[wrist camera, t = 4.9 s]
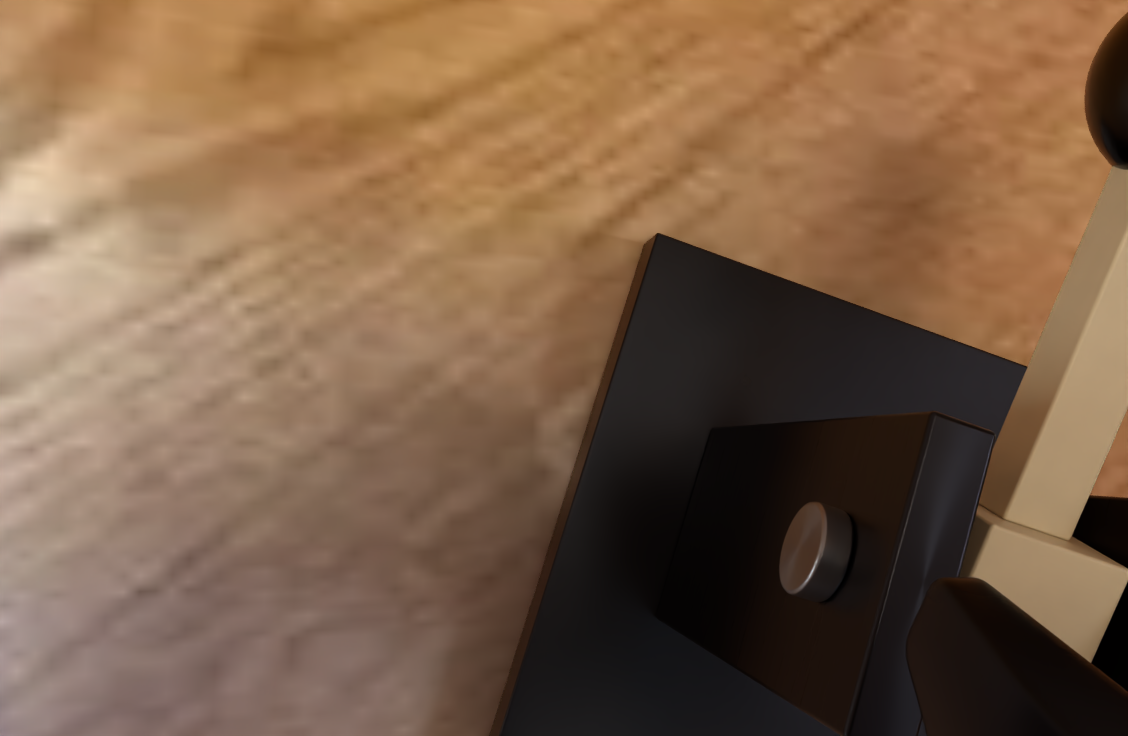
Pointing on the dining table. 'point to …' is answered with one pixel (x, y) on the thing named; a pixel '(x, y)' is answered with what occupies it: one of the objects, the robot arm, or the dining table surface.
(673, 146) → the dining table surface
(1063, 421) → the lever handle
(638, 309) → the lever bracket
